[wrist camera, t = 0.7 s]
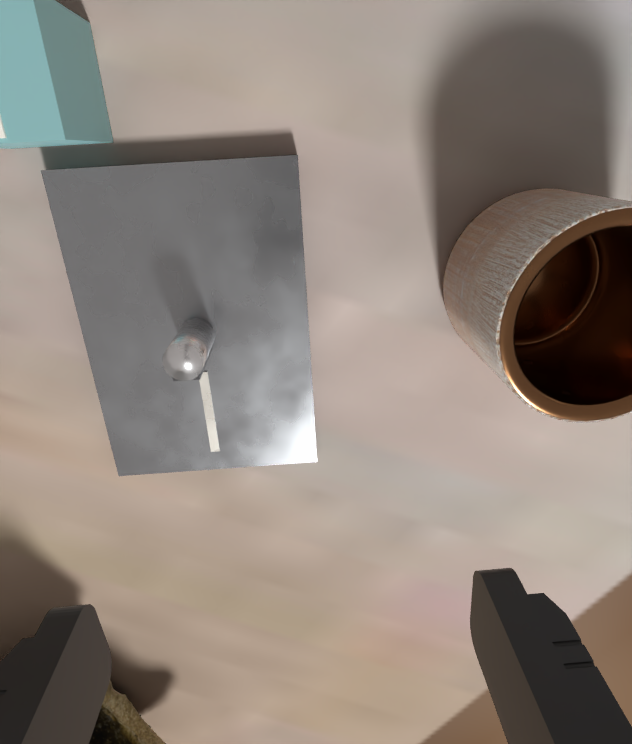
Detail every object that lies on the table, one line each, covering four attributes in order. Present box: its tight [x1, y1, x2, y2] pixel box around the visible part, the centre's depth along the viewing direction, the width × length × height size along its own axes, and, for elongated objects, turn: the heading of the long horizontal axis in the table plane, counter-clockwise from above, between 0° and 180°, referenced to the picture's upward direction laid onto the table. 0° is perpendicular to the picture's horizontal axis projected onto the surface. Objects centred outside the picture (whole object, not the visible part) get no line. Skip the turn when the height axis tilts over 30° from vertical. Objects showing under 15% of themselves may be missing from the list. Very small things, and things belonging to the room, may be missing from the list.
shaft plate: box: [41, 155, 317, 476], centre depth 30 cm, size 20×14×6 cm
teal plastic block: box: [0, 0, 113, 149], centre depth 24 cm, size 6×6×7 cm
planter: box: [443, 188, 632, 422], centre depth 28 cm, size 11×11×10 cm
